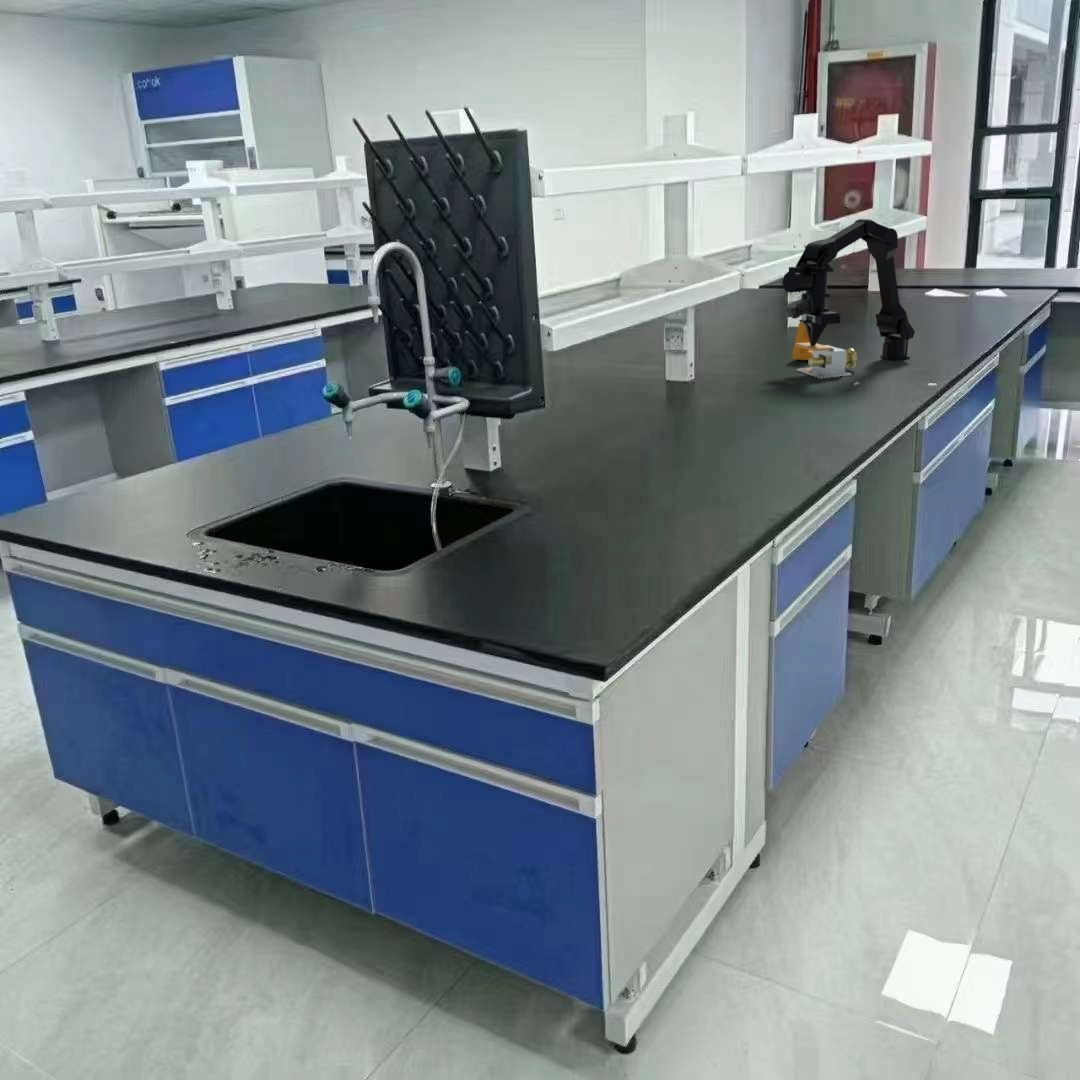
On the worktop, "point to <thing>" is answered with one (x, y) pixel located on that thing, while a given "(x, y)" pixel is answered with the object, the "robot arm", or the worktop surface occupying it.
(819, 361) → the pin
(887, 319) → the robot arm
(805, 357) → the bracket
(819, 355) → the hitch block
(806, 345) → the tan flat plate
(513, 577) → the worktop surface
